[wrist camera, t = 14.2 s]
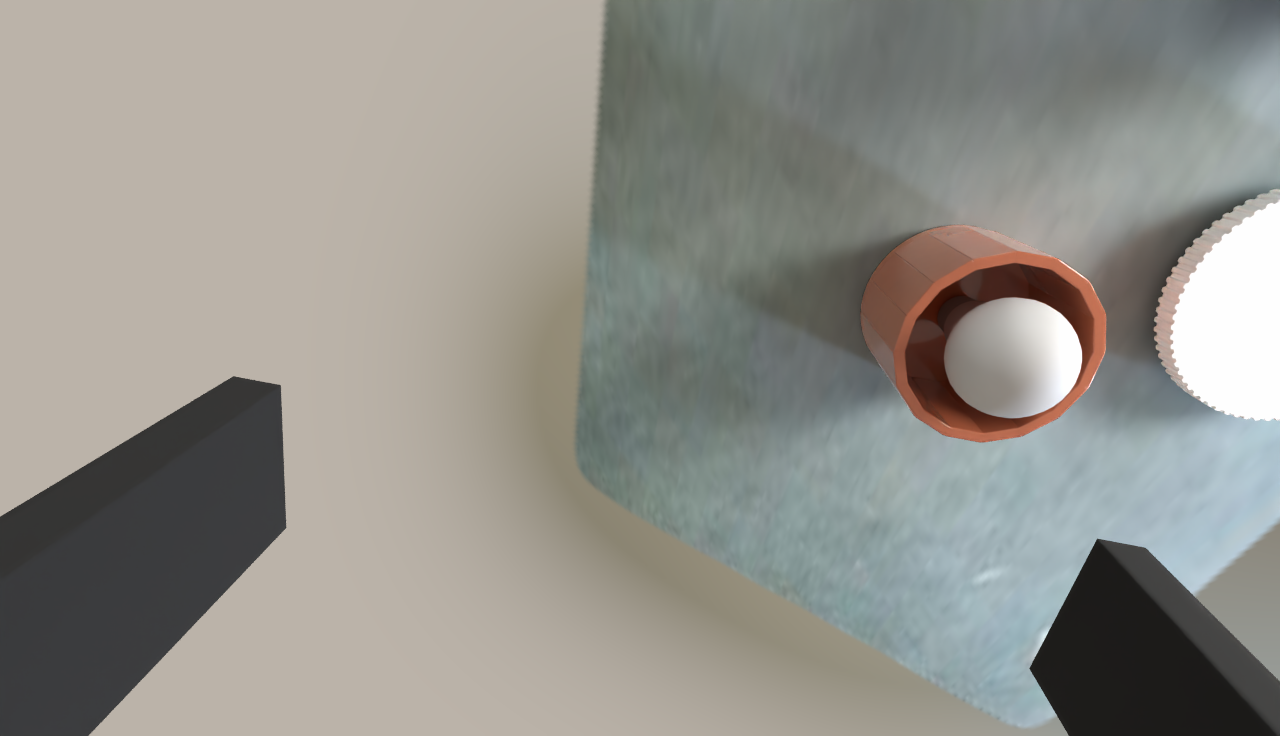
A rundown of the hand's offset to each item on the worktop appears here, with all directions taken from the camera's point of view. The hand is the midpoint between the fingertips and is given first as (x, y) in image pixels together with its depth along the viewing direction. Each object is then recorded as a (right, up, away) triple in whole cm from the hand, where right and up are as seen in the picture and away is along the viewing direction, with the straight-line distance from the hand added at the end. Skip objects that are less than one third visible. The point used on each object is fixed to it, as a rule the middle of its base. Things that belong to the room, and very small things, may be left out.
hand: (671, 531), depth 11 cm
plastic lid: (+37, +7, +30) cm, 48 cm away
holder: (+19, +6, +31) cm, 37 cm away
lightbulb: (+19, +6, +31) cm, 37 cm away
